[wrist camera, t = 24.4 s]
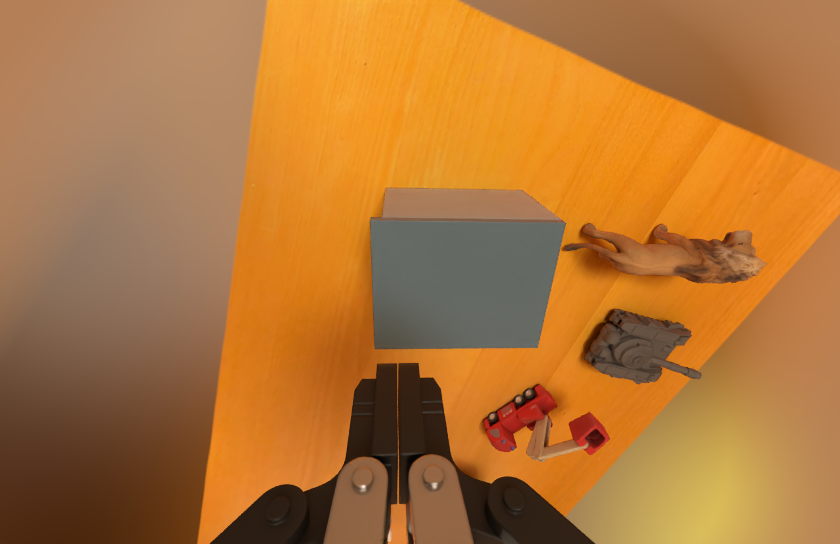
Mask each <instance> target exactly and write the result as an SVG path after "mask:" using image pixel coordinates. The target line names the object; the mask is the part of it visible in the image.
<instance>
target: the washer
mask: <svg viewBox="0 0 840 544" xmlns="http://www.w3.org/2000/svg"><path fill="white" fill-rule="evenodd" d="M382 217H400V218H476V219H551V220H561V219H560V218H559V217H557V216H556V215H555V214H553V213H552V212H551V211H549V210H548V209H547V208H545V207H544V206H543V205H541V204H540V203H539V202H537V201H536V200H535V199H534V198H532V197H531V196H530V195H528V194H527V193H526V192H524V191H523V190H485V189H429V188H386V191H385V198H384V206H383V213H382Z"/></svg>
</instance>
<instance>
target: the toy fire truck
mask: <svg viewBox="0 0 840 544" xmlns="http://www.w3.org/2000/svg"><path fill="white" fill-rule="evenodd" d="M524 395H525V398H524V397H523V396H521V395H518V396H516V397H515V399H514V403H513V402H511V403H510V404H508V405H506V406H505V407H503V408H502V409H500V410H499V411H497V413H495V412H492V413H490V414H489V416H488V419H485V420H484V425H485V429H486V431H487V432H486V433H487V436H488V439H489V441H490V442H491V444H492V445H493V446H494V447H495V448H496V449H497V450H499V451H502V452H510V451H513V450H514V449H515V448H517V445H516V442H515V439H514V436H513V433H515V432H517V431H519V430H520V429H522V428H523V427H525V426H527V427H528V428H529V429H530V430H531V431H533V433H532V436H531V439H530V442H529V445H528V448H527V451H526V454H527V455H529V456H530V457H531V458H532V459H535V460H538V461H541V462H544V461H545V460H546V459H547V458H551V457H555V456H559V455H563V454H566V453H570V452H574V451H578V450H581V449H584V450H585V451H586V452H587V453H588V454H589V455H593V454H594V453H595V452H596V451H597V450H598V449H600V448H601V447H602V446H603V445H604V444H605V443H606V442H607V441H608V440H609V439H610V438H609V436H608V434H607V432H606V430H605V428H604V426H603V425H602V424H601V423H600V422H599V421H598V420H597V419H596V418H595V417H594V416H593V415H592V414H591V413H590V412H589V413H587V414H585V415H583V416H581V417H579V418H577V419H575V420H573V421H571V422H570V423H569V427H570V430H571V433H572V437H573V439H572V440H569V441H565V442H561V443H558V444H554V445H551V446H548V443H549V435H550V428H551V427H552V422H551V419H550V417H549V415H548V412H549V411H551V410H553V409H554V408H556V407H557V404H556V403H555V401H554V399H553V397H552V395H551V394H550V393H549V392H548V391H546V390H545V389H544V388H543V387H542V386H541V385H538V386H536V387H535V391H534V390H532V389H527V390H526V391H525V393H524Z"/></svg>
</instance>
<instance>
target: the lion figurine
mask: <svg viewBox="0 0 840 544" xmlns="http://www.w3.org/2000/svg"><path fill="white" fill-rule="evenodd" d="M667 231H668V229H667V226H665V225H664V224H660V225H659V226H657V227H656V228H655V230H654V236H656V237H657V238H658V239H661V240H666V241H667V242H668V244H648V245H643V246H642V245H641V244H640V243H638V242H636V241H635V240H633V239H631V238H628V237H626V236H624V235H620V234H617V233H612V232H604V231H598V230H596V228H595V226H594V225H593V224H591V223H589V224H586V225H585V226H584V227H583V233H584V234H586V235H588V236H591V237H593V238H600V239H604V240H606V241H608V242H609V243H612V244H613V245H614V246H615V248H616V249H617V250H618V252H616V253H615V252H612V251H610V250H608V249H605V248H603V247H600V246H597V245H594V244H590V243H579V244H573V243H572V244H570V245H568V246H566V247H565V250H566V251H570V250H577V249H579V248H589V249H592V250H595V251H597V252H599V257H601V258H602V259H606V260H607V261H609V262H610V263H611V264H612V265H613V266H614V268H615V269H617V270H619V271H621V272H624V273H627V274H632V275H639V276H641V275H649V274H652V275H660V276H680V277H683V278H686V279H687V280H689V281H692V282H696V283H719V284H721V283H727V282H731V283H736V282H738V281H745V280H748V279H749V278H751V277H752V276H756V275H757V274H758V273H759V271H760V269H762V268H763V267H764V265H766V264H767V263H765V262H763V261H762V260H761V259H760V258H758V257H756V256H755V252H756V250H755V248H754V247H753V246H752V245H751V239H752V233H751V232H750V231H748V230H745V231H735V232H729V233H727V234H726V235H725V238H724V240H723V241H719V240H717V239H713V240H711V241H706V240H703V239H686V238H685V237H683V236H680V235H678V234H674V233H668V232H667Z"/></svg>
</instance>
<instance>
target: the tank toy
mask: <svg viewBox="0 0 840 544" xmlns="http://www.w3.org/2000/svg"><path fill="white" fill-rule="evenodd" d="M609 319H610V321H612V322H613V324H606V325H605V326H603V327H602V329H601V330H600V334H599V335H598V337H597V338H596V340H594V341H593V343H592V344H591V348H590V349H589V350H588V352H587V353H586V355H585V356H584V358H585V360H587V361H588V362H589V363H590V364H591V365H593V366H594V367H595V368H596V369H597V370H599V371H600V372H601V373H603V374H607V375H610V376H611V377H616V378H625V379H629V380H633V381H634V382H635V383H637V384H640V382H642V383H649V382H655V381H656V380H658V378H659V377H660V376H661V374H662V372H661V371H662V368H661V367H660V366H662V367H665V368H667V369H669V370H672V371H675V372H679V373H682V374H683V375H685V376H688V377H690V378H693V379H700V378H701V373H700V372H698V371H696V370H694V369H691V368H688V367H683V366H680V365H678V364H675V363H673V362H669V361H666V360H665V359H666V358H667V357H668V355H669V354H670V353H671V352H672V351H673V349H674V348H675V347H676V346H678V345H685V343H686V342H687V340H688V339H689V338H690V337H691V336H692V335H691V331H690V330H688V329H686V328H684V325H682V324H680V323H678V322H676V323H673V322H672V321H668V320H665V322H663V321H659V320H655V319H653V318H651V319H650V318H649V317H644V316H642V315H641V316H640V315H638V314H636V313H635V314H634V313H629V312H628V311H623V310H620V309H619V310H618V309H615V311H614V312H613V314H612V315H611V317H610V318H609Z"/></svg>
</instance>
